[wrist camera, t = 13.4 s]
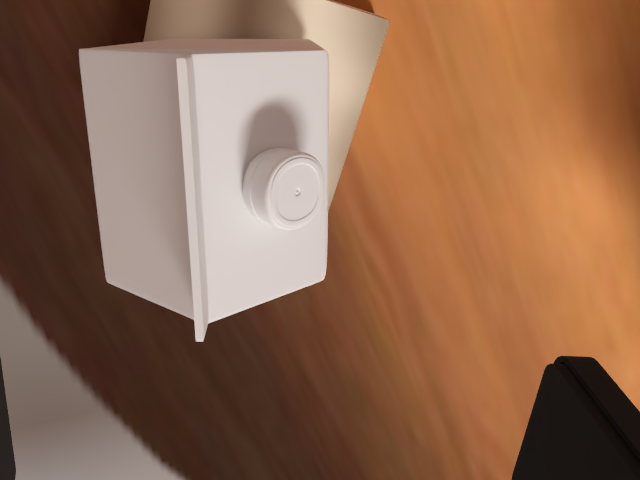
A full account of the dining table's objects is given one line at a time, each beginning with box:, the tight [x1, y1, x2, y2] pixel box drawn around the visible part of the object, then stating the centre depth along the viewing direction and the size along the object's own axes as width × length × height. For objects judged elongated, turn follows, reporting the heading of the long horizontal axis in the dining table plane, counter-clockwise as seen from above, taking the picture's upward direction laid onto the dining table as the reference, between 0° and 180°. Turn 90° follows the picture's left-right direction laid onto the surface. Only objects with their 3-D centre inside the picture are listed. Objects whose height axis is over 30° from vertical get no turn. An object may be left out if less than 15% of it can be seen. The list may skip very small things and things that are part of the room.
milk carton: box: [79, 38, 329, 342], centre depth 23 cm, size 7×7×19 cm
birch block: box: [143, 0, 390, 211], centre depth 35 cm, size 12×12×5 cm
